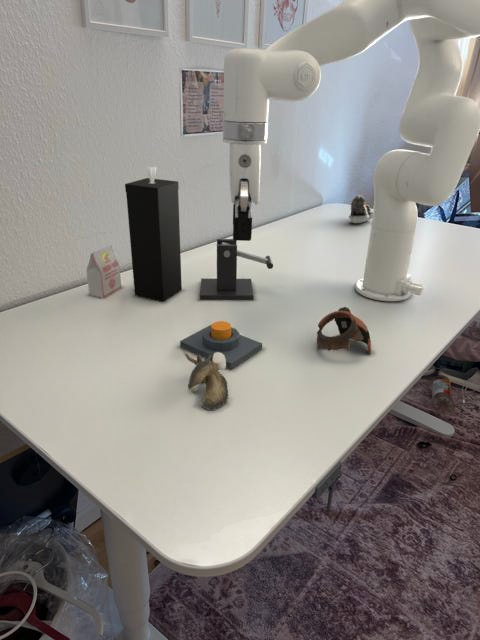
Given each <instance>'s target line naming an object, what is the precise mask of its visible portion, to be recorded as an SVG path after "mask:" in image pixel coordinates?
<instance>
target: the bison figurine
mask: <svg viewBox="0 0 480 640" xmlns="http://www.w3.org/2000/svg"><path fill="white" fill-rule="evenodd" d="M372 218H373V210H371V207H370V205H368V204H366V199H365V195H356V196H355V197H354V198H353V199H352V200H351V203H350V214H349V215H348V219H349V220H350V222H352V223H353V224H361V223H365V222H366V221H371V220H372Z"/></svg>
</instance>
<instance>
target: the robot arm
mask: <svg viewBox="0 0 480 640" xmlns="http://www.w3.org/2000/svg"><path fill="white" fill-rule="evenodd" d="M406 21H409V27H410V31H411V34H412V36H413V39H414V42H415V45H416V49H417V54H418V67H417V69H416V73H415V74H416V75H415V77H414V80H413V83H412V86H411V89H410V91H409V93H408V94H409V95H408V97H407V100H406V101H405V105H404V108H403V110H402V114H401V116H400V120H399V124H398V134H399V136H400V138H401V139H402V140H403V141H405V142H406V143H408V144H412V145H416V146H420V147H421V146H422V147H427V148H431V150H430V153H425V152H422V151H415V150H409V149H393V150H390V151H387V152H386V153H384V154H383V155H381V157H380V158H379V159H378V161H377V163H376V165H375V167H374V170H373V196H374V197H373V210H372V212H373V218H371V223H370V226H371V227H370V232H369V238H368V245H367V252H366V259H365V264H364V273H363V278H360V279H358V280H357V281H356V283H355V291H356V292H357V293H358V294H360V295H361V296H363V297H365V298H368V299H370V300H375V301H379V302H401V301H405V300H407V299H409V298H410V297H411V295H416V296H420V297H422V295H423V293H424V287H423V286H422V283H419V282H413V281H412V280H411V278H412V275H411V274H410V273H409V268H410V267H409V266H410V263H411V256H412V253H413V252H412V251H413V246H414V240H415V236H416V229H417V225H418V207H417V204H420V205H423V206H428V207H436V206H437V207H438V206H441V205H443V204H444V203H445V202H447V201H448V200H449V199H450V197H451V196H452V195H453V193H454V192H455V190H456V189H457V186H458V183H459V182H460V179H461V178H462V177H461V176H462V174H463V173H464V169H465V167H466V165H467V163H468V160H469V158H470V155H471V153H472V151H473V148H474V145H475V143H476V140H477V138H478V135H479V132H480V107H479V105H478V103H477V102H476V101H475V100H474V99H472V98H470V97H467V96H462V95H457V92H458V89H459V86H460V82H461V80H462V76H463V72H464V59H463V56H462V53H461V50H460V47H459V43H458V42H457V40H462V39H473V38H477V37H480V0H343V1H341V2H340V3H339V4H337V5H336V6H333V7H331V8H329V9H328V10H325V11H324V12H322V13H320V14H319V15H317V16H316V17H314V18H313V19H311V20H309V21H306V22H305V23H303V24H301V25H300V26H298V27H296V28H294V29H292V30H290V31H289V32H287V33H286V34H284V35H283V36H282V37H280V38H279V39H277V40H275V42H272V44H270V45H269V46H268V47H266V48H265V49H260V48H246V47H245V48H243V47H241V48H240V47H239V48H238V47H237V48H232V49H229V50H228V51H227V52H226V53H225V55H224V59H223V60H224V61H223V104H222V105H223V107H222V109H223V110H222V142H223V143H226V144H229V168H228V169H229V190H230V199H231V203H232V204H233V206H232V208H233V209H232V227H233V228H232V239H233V240H237V241H240V242H241V241H242V242H251V241H252V235H253V234H252V231H253V217H252V203H255V206H257V205H259V204H260V196H261V195H260V194H261V193H260V192H261V191H260V190H261V171H262V167H261V166H262V147H261V146H262V145H265V144H268V133H269V132H268V130H269V113H270V112H269V111H270V101H271V100H273V101H282V102H291V103H292V102H301V101H304V100H306V99H309V98H310V97H311V96H313V95H314V93H315V92H316V91H317V90H318V88H319V86H320V84H321V80H322V79H321V78H322V71H321V67H322V66H325V65H328V64H332V63H338V62H340V61H345V60H347V59H350V58H353V57H355V56H358V55H361V54H362V53H363V52H365V51H366V50H368V49H369V48H371V47H372V46H373V45H375V44H376V43H377V42H378V41H380V40H381V39H382V38H383V37H385V36H386V35H387V34H389V33H390V32H391V31H393V30H394V29H396V28H397V27H398V26H399V25H401V24H402V23H404V22H406ZM408 273H409V274H408Z"/></svg>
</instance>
